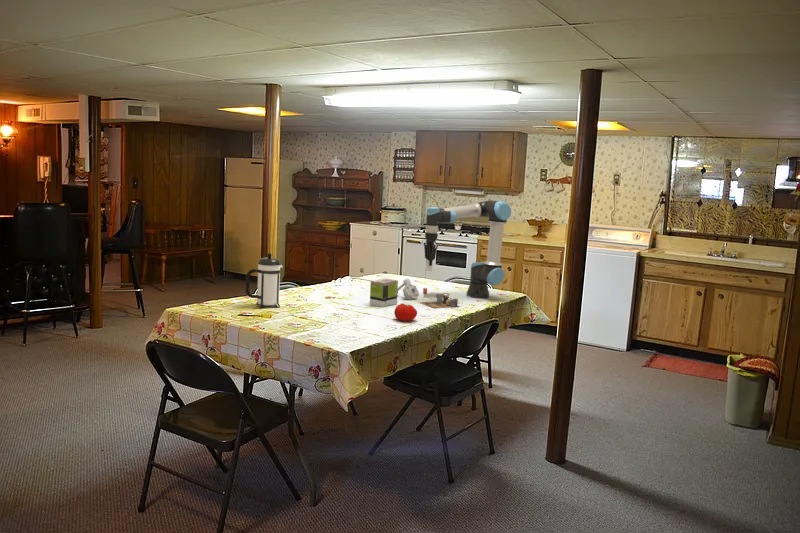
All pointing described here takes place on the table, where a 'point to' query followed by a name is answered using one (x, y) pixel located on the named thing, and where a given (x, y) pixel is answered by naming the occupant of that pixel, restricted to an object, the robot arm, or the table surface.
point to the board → (441, 304)
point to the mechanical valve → (409, 290)
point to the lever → (435, 295)
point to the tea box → (383, 292)
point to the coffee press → (266, 281)
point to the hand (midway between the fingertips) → (429, 270)
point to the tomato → (405, 312)
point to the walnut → (448, 302)
